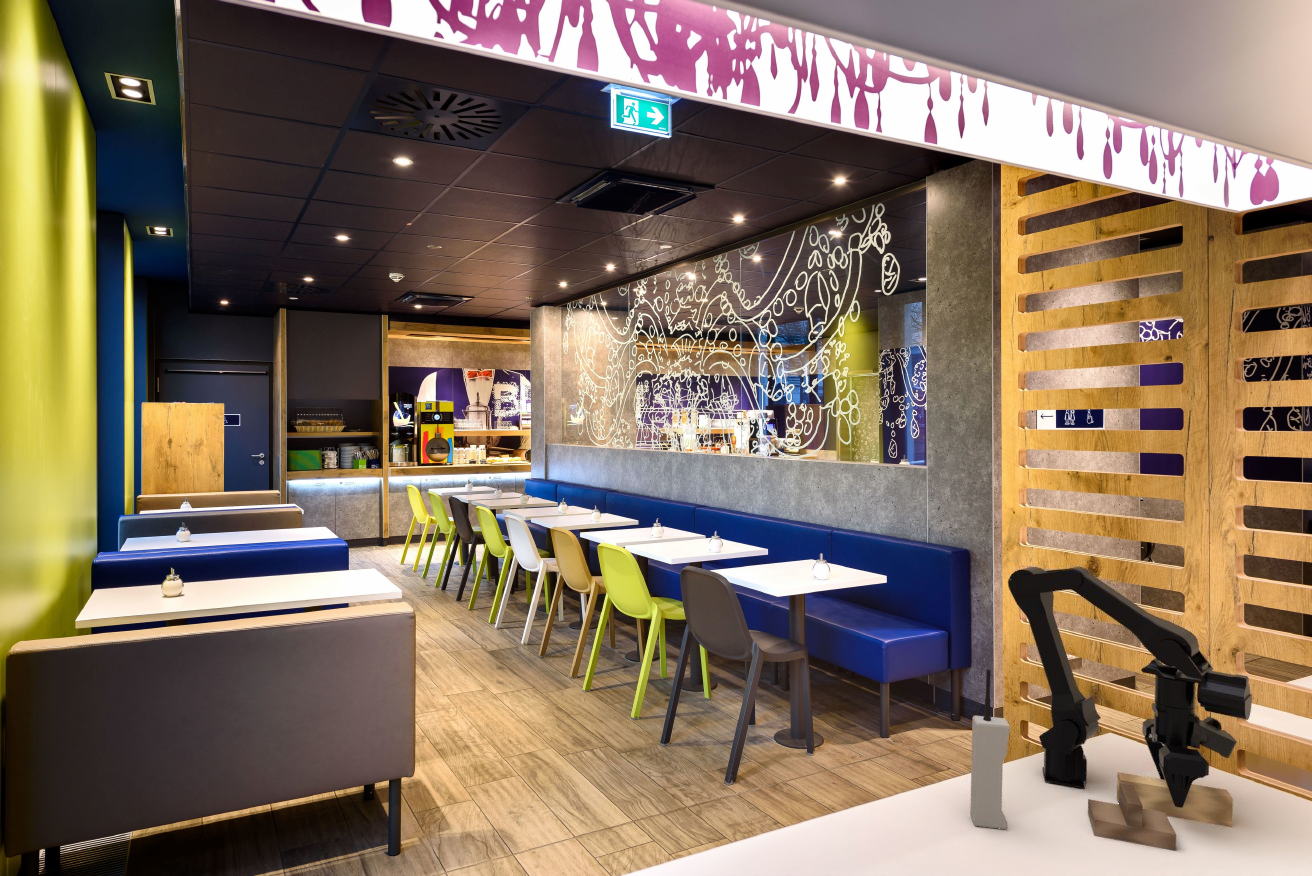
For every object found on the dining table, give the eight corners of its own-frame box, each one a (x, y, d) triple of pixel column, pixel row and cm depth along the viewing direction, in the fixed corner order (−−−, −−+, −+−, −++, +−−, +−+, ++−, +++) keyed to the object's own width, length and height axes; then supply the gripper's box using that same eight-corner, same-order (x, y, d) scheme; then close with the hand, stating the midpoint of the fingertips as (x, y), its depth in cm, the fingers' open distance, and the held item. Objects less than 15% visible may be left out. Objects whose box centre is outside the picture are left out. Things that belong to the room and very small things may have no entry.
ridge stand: (1094, 835, 125) (1095, 797, 125) (1087, 814, 133) (1088, 778, 133) (1175, 850, 121) (1176, 811, 121) (1164, 827, 128) (1165, 790, 128)
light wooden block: (1120, 809, 135) (1120, 780, 135) (1116, 800, 139) (1117, 772, 139) (1232, 828, 129) (1232, 798, 129) (1225, 819, 133) (1226, 789, 133)
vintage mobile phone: (1007, 830, 126) (1011, 673, 126) (974, 826, 127) (978, 671, 127) (1002, 819, 130) (1005, 667, 130) (970, 816, 131) (973, 665, 131)
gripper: (1249, 729, 122) (1246, 830, 122) (1215, 695, 140) (1213, 783, 140) (1165, 718, 127) (1162, 815, 127) (1142, 686, 144) (1140, 771, 144)
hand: (1172, 795), depth 134 cm, fingers open, 9 cm apart
